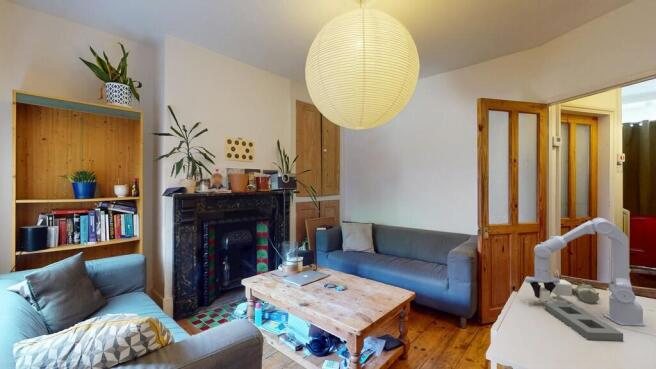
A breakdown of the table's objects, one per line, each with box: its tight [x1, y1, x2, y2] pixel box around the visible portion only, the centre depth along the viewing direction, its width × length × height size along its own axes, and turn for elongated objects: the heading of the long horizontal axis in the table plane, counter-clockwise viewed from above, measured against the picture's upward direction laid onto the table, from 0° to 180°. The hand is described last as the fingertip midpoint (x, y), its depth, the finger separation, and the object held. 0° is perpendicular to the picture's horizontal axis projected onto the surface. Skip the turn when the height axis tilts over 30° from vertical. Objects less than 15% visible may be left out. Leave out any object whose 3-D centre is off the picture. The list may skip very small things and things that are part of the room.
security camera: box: [550, 279, 573, 304], centre depth 134 cm, size 6×7×10 cm
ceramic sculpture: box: [572, 282, 600, 304], centre depth 136 cm, size 11×9×15 cm
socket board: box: [544, 302, 624, 342], centre depth 114 cm, size 12×24×3 cm, turn 174°
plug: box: [533, 286, 551, 303], centre depth 131 cm, size 4×5×6 cm
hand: (542, 297), depth 131 cm, fingers closed on plug, 4 cm apart
